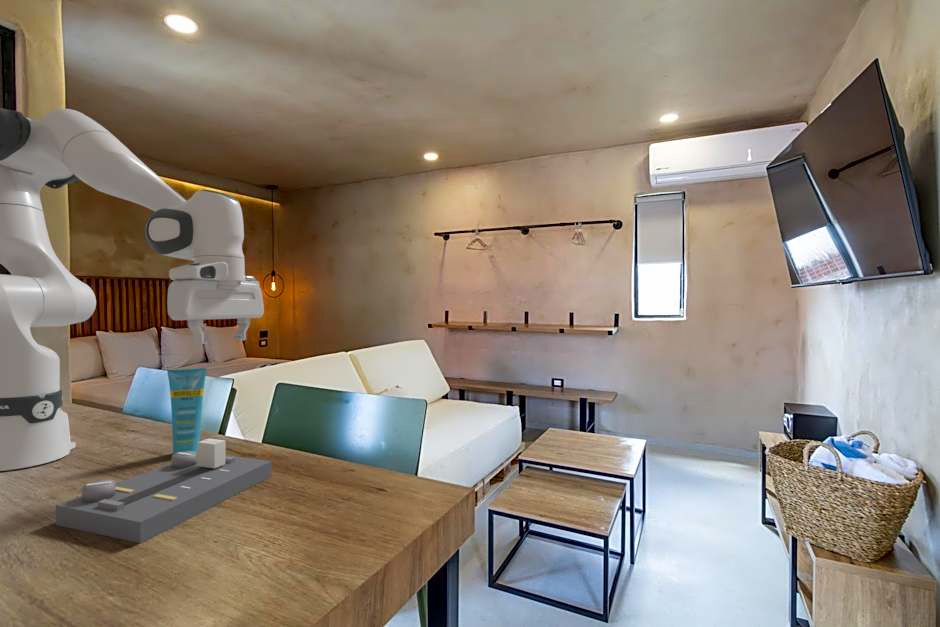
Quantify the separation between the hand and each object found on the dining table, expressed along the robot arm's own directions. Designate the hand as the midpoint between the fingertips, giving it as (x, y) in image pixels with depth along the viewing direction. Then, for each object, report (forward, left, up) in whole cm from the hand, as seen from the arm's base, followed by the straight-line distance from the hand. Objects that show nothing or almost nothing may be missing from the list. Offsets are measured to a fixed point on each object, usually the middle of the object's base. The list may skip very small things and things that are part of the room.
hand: (221, 342), depth 89 cm
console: (+3, -12, -26) cm, 29 cm away
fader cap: (+3, -5, -23) cm, 23 cm away
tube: (-16, +6, -26) cm, 31 cm away
